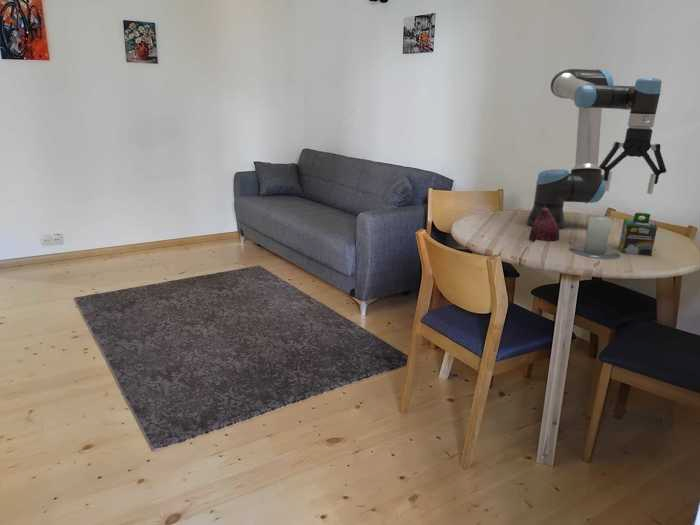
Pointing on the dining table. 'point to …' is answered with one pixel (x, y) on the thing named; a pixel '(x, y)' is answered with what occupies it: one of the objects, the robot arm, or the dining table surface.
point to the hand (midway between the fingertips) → (627, 192)
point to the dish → (608, 255)
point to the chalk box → (638, 235)
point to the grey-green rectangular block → (597, 235)
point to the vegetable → (544, 227)
